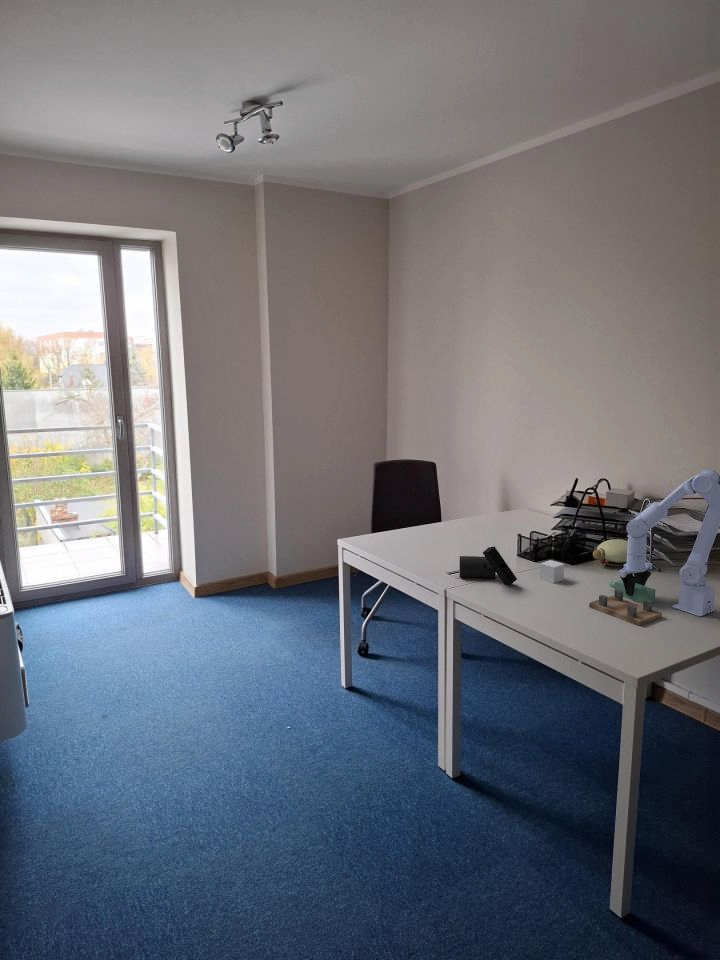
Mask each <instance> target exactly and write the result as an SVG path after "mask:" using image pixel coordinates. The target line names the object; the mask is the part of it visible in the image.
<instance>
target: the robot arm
mask: <svg viewBox="0 0 720 960" xmlns="http://www.w3.org/2000/svg"><path fill="white" fill-rule="evenodd" d="M695 494H698V495H699V496H701V498H703V500H705V502H706V503H707V504H708V506H707V507H708V508H707V510H706V513H705V515H704V517H703V520H702V524H700V525H701V526H700V529H699V531H698V533H697V536H696V540H695V541H694V545H693V547H692V549H691V552H690V554H689V556H688V558H687V561H686V562H685V564H684V565H683V566H681V568H680V569H679V590H678V603H676V604H673V605H672V606H671V607H672V608H673V609H676V610H679V611H683V612H686V613H688V614H692V615H695V616H698V617H702V616H705V614H706V615H707V613H708V614H711V613H713V612H715V610H716V609H714V607H715V606H714V605H715V597H716V596H715V595H716V592H715V588H714V587H712V586H710V585H708V583H707V580H706V578H705V577H704V576H705V574H707V572H708V568H709V567H708V561H709V555H710V553H711V550H712V547H713V544H714V543H715V540H716V536H717V534H718V532H719V530H720V529H719V528H720V473H718V472H717V471H716V469H715V470H714V469H711V468H705V469H703V470H701V471H700V472H699V473H698V474H695V475H694V476H692V477H690V478H689V479H687V480H685V481H684V482H682V483H681V484H680V485H678V487H676V488H675V489H674V490H673V491H672V492H671V493H669V494H668V495H667V496H666V497H664V499H663V500H661V501H659V502H658V501H655V502H654V501H653V502H652V503H651V502H649V503H647V505H646V506H645V507H646V508H645V509H643V510H642V511H641V512H640V513H639V512H638V513H636V514H635V518H633V519H630V520H629V521H628V523H627V524H626V529H625V530H626V533H627V534H628V535H627V541H628V545H627V562H626V563H623V564H624V566H623V568H621V569H619V570H618V577H619V578H620V580H622V581H623V583H624V587H625V591H626V595H629V596H633V593H634V587H635V584H636V583H637V584H640V585H643V586H646V584H647V581H648V580H649V578H650V576H651V575H652V572H651V571H648V570H652V569H653V563H651V562H648V561H647V560H646V559H647V546H648V545H647V544H648V541H647V537H648V532H649V531H650V530H651V529H653V528H654V527H655V526H656V525H658V524H659V523H660V522H661V521H663V519H665V518H667V516H668V510H669V509H670V508H671V507H673V506H674V505H676V504H677V503H678V502H679V501H681V500H682V499H683V498H684V497H686V496H690V495H691V496H694V495H695ZM712 611H713V612H712ZM710 612H711V613H710Z"/></svg>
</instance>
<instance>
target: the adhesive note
mask: <svg viewBox="0 0 720 960" xmlns="http://www.w3.org/2000/svg"><path fill="white" fill-rule="evenodd" d="M539 580H542V581H545V582H548V583H550V584H556V583H558V582H560V581H563V580H565V564H564V563H562V562H560V561H559V562H558V561H555V560H552V559H549V560H546V561H543V562H540V563H539Z"/></svg>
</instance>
